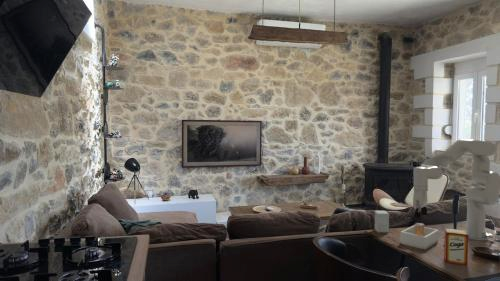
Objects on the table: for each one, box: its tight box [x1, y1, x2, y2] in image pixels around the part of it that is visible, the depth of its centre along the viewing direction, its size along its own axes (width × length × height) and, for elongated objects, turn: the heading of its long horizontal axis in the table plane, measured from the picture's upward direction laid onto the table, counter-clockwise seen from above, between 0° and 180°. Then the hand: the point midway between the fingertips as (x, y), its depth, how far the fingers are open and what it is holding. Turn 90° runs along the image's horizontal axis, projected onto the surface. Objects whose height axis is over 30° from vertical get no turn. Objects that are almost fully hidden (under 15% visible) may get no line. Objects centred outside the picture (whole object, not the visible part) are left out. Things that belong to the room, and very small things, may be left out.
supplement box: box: [374, 210, 390, 233], centre depth 226 cm, size 7×7×13 cm
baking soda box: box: [443, 228, 469, 266], centre depth 175 cm, size 10×6×16 cm
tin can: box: [414, 222, 425, 237], centre depth 204 cm, size 5×5×10 cm
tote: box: [399, 224, 439, 250], centre depth 204 cm, size 20×14×7 cm
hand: (420, 216), depth 203 cm, fingers open, 9 cm apart
